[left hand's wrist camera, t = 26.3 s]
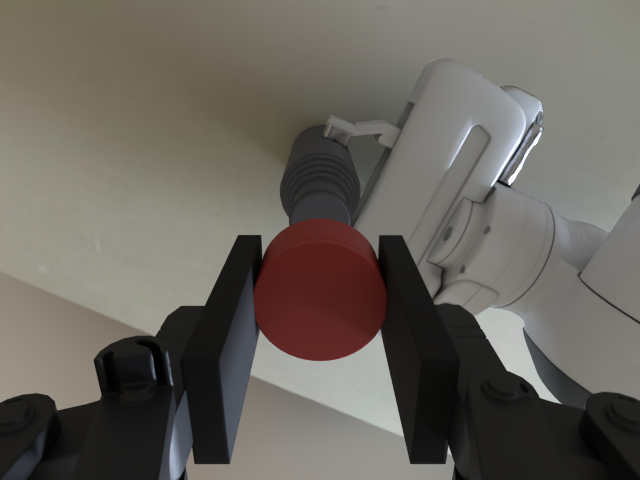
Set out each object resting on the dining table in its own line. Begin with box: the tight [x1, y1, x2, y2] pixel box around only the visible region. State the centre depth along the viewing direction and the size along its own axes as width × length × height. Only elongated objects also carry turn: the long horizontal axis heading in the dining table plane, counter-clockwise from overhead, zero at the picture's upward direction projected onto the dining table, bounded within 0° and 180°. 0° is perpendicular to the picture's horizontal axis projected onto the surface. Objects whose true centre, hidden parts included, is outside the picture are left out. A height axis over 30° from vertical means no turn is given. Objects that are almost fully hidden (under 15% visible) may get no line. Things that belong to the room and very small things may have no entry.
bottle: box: [280, 126, 360, 226], centre depth 29 cm, size 5×5×18 cm
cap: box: [253, 219, 387, 361], centre depth 14 cm, size 4×4×2 cm
